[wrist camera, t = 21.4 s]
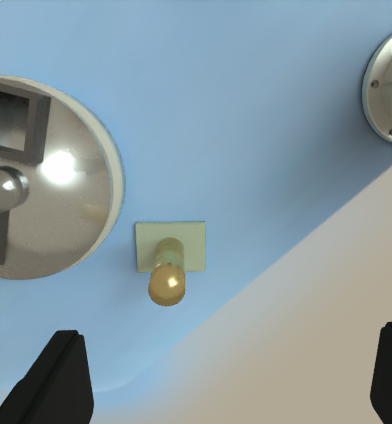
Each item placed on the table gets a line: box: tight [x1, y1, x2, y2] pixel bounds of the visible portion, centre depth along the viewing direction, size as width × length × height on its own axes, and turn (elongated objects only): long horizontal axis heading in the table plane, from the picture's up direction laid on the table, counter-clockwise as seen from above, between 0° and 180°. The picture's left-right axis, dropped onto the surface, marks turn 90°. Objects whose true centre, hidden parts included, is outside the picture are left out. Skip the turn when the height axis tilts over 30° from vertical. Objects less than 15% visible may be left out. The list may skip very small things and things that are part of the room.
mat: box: [135, 221, 205, 272], centre depth 34 cm, size 8×6×1 cm
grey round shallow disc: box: [0, 78, 114, 280], centre depth 27 cm, size 19×19×4 cm
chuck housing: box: [0, 75, 125, 271], centre depth 30 cm, size 20×20×3 cm
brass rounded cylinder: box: [148, 238, 185, 306], centre depth 30 cm, size 3×3×9 cm
